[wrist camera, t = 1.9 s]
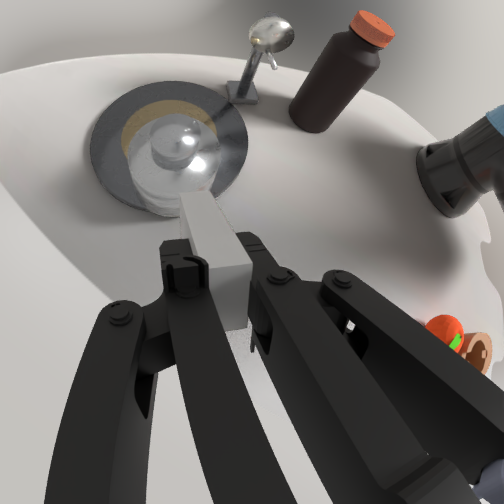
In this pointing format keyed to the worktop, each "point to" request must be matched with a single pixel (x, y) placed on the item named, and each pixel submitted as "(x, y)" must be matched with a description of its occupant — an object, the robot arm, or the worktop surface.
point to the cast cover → (172, 161)
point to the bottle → (340, 72)
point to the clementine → (447, 331)
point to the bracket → (477, 350)
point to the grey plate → (155, 106)
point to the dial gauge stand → (260, 55)
